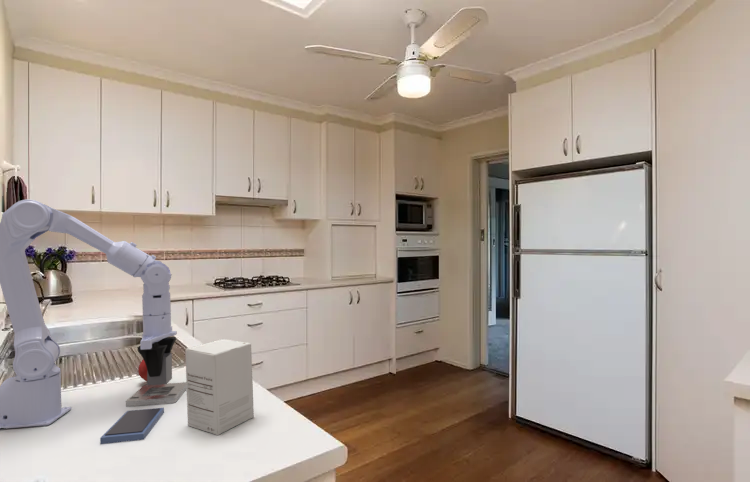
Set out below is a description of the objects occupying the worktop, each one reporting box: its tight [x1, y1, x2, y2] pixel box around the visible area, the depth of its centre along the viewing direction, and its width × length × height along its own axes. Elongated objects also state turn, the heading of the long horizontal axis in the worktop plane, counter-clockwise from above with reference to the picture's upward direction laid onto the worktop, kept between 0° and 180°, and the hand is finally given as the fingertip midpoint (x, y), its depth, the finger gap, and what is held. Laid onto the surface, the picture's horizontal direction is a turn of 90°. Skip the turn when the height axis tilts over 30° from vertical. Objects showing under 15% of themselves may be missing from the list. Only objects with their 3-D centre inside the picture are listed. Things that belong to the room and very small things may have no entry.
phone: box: [99, 407, 165, 445], centre depth 80 cm, size 7×12×2 cm, turn 11°
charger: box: [146, 352, 173, 385], centre depth 95 cm, size 4×4×6 cm
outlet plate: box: [125, 381, 187, 408], centre depth 95 cm, size 10×10×1 cm
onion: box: [137, 358, 147, 382], centre depth 104 cm, size 6×6×8 cm
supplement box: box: [184, 338, 255, 436], centre depth 81 cm, size 9×9×15 cm
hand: (158, 372), depth 95 cm, fingers closed on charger, 4 cm apart
